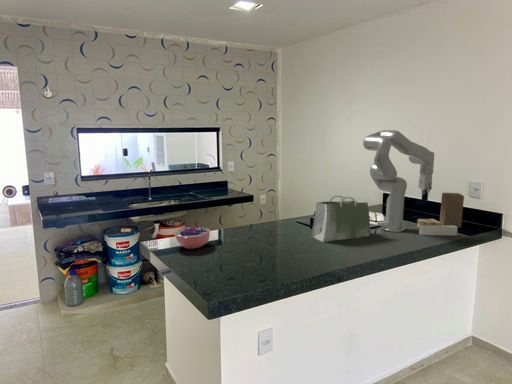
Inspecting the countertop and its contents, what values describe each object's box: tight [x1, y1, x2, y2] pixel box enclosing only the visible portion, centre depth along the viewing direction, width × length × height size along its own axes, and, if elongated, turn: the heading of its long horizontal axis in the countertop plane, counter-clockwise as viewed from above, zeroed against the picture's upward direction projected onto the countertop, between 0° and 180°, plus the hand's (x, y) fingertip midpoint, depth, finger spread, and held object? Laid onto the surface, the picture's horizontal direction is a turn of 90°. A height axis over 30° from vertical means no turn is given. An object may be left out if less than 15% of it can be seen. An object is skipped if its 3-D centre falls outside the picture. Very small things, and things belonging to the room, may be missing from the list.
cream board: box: [418, 225, 459, 237], centre depth 217 cm, size 20×3×5 cm, turn 86°
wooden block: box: [439, 192, 465, 229], centre depth 236 cm, size 10×10×20 cm
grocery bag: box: [309, 195, 371, 243], centre depth 212 cm, size 32×14×23 cm, turn 114°
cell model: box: [174, 226, 211, 250], centre depth 193 cm, size 17×20×11 cm
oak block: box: [416, 218, 441, 228], centre depth 230 cm, size 10×9×5 cm
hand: (424, 200), depth 238 cm, fingers closed
